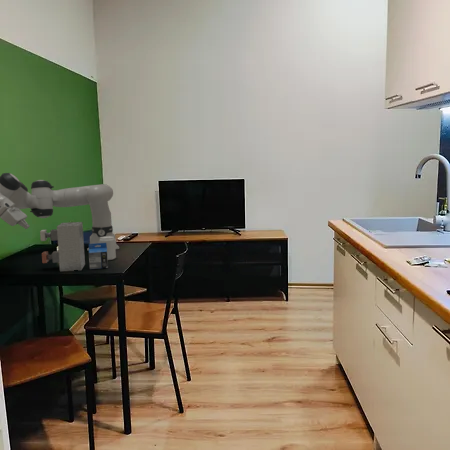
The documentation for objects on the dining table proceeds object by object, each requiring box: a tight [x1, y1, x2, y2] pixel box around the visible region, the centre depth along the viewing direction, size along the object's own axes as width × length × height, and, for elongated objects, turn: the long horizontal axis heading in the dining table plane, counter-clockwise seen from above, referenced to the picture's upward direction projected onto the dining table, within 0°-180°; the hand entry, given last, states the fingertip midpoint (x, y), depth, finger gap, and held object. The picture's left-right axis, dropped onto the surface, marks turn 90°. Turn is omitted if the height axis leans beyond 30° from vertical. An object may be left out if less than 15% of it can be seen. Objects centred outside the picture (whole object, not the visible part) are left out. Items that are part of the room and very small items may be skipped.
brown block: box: [41, 251, 52, 264], centre depth 230 cm, size 5×6×5 cm
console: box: [49, 221, 86, 272], centre depth 231 cm, size 14×14×22 cm
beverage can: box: [100, 236, 117, 261], centre depth 251 cm, size 8×8×12 cm
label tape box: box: [88, 243, 109, 270], centre depth 230 cm, size 9×4×12 cm, turn 103°
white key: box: [39, 229, 51, 242], centre depth 229 cm, size 5×6×5 cm
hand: (28, 227), depth 226 cm, fingers closed
